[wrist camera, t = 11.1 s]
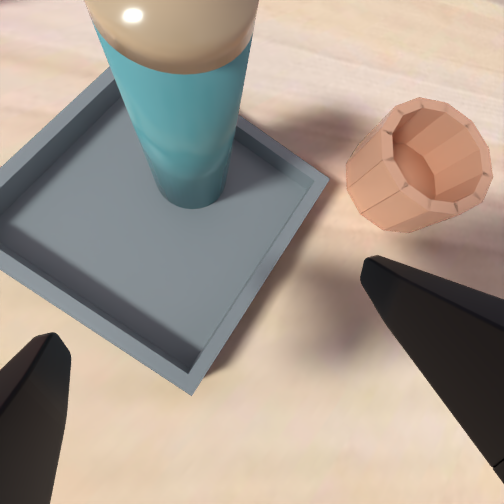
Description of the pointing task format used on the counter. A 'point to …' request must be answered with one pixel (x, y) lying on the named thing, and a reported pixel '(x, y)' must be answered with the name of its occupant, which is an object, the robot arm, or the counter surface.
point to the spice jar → (180, 85)
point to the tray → (146, 233)
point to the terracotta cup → (419, 167)
